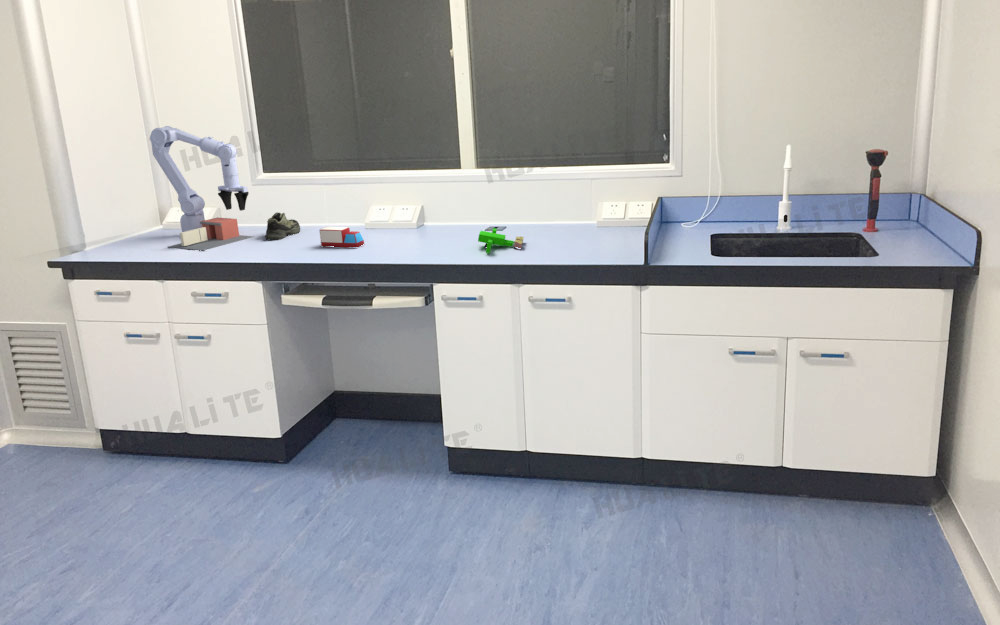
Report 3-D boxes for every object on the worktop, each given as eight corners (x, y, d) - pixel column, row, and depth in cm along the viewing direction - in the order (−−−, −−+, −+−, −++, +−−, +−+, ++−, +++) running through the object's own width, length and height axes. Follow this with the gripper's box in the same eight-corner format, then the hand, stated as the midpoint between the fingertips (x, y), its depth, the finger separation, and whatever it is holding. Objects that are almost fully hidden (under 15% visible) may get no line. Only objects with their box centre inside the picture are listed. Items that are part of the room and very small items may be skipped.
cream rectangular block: (181, 245, 307) (179, 232, 306) (205, 239, 316) (203, 227, 315) (184, 246, 306) (182, 233, 305) (207, 240, 315) (205, 227, 314)
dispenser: (202, 238, 321) (199, 221, 319) (219, 234, 328) (217, 217, 326) (222, 240, 315) (219, 223, 313) (239, 235, 323) (237, 218, 321)
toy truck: (357, 249, 291) (355, 230, 290) (321, 247, 297) (318, 229, 295) (364, 245, 296) (362, 227, 294) (329, 244, 302) (327, 226, 300)
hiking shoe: (306, 229, 331) (303, 207, 329) (283, 241, 311) (280, 216, 309) (286, 230, 333) (283, 207, 330) (262, 241, 313) (259, 217, 310)
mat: (167, 247, 309) (167, 246, 309) (219, 234, 330) (219, 233, 330) (203, 251, 299) (203, 250, 299) (254, 237, 320) (254, 236, 320)
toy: (521, 247, 293) (480, 239, 293) (524, 233, 291) (483, 226, 291) (518, 262, 271) (473, 254, 272) (520, 248, 270) (476, 239, 270)
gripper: (209, 176, 322) (215, 210, 326) (235, 177, 314) (240, 212, 318) (223, 173, 327) (228, 207, 331) (249, 174, 320) (254, 209, 324)
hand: (235, 209), depth 325 cm, fingers open, 7 cm apart
